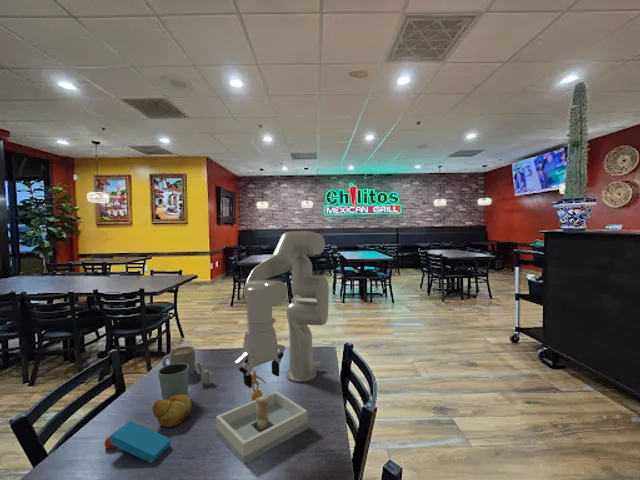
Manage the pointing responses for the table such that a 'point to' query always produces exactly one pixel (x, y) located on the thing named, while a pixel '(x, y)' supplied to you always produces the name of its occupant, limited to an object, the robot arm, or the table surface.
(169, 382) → the green cup
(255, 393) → the figurine
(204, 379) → the lighter
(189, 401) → the bread roll
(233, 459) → the table surface
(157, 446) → the lever
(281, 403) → the tray
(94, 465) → the table surface
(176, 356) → the coffee mug
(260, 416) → the peg
